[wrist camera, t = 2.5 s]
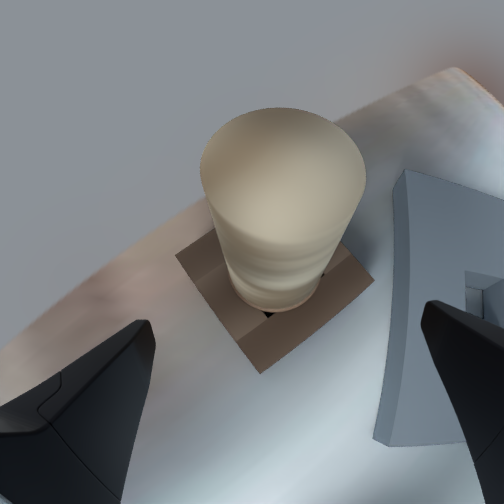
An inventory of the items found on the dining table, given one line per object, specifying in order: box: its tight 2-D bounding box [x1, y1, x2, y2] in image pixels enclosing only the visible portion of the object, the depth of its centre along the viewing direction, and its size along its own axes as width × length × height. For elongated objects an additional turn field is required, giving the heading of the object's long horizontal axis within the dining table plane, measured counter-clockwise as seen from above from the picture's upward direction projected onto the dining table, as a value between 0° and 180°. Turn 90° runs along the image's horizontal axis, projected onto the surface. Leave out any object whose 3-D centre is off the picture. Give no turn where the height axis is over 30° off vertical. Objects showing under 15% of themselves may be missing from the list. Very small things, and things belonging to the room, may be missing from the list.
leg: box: [200, 108, 366, 313], centre depth 15 cm, size 6×6×13 cm
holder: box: [175, 229, 375, 374], centre depth 20 cm, size 9×9×3 cm
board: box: [373, 169, 504, 447], centre depth 18 cm, size 20×14×3 cm
